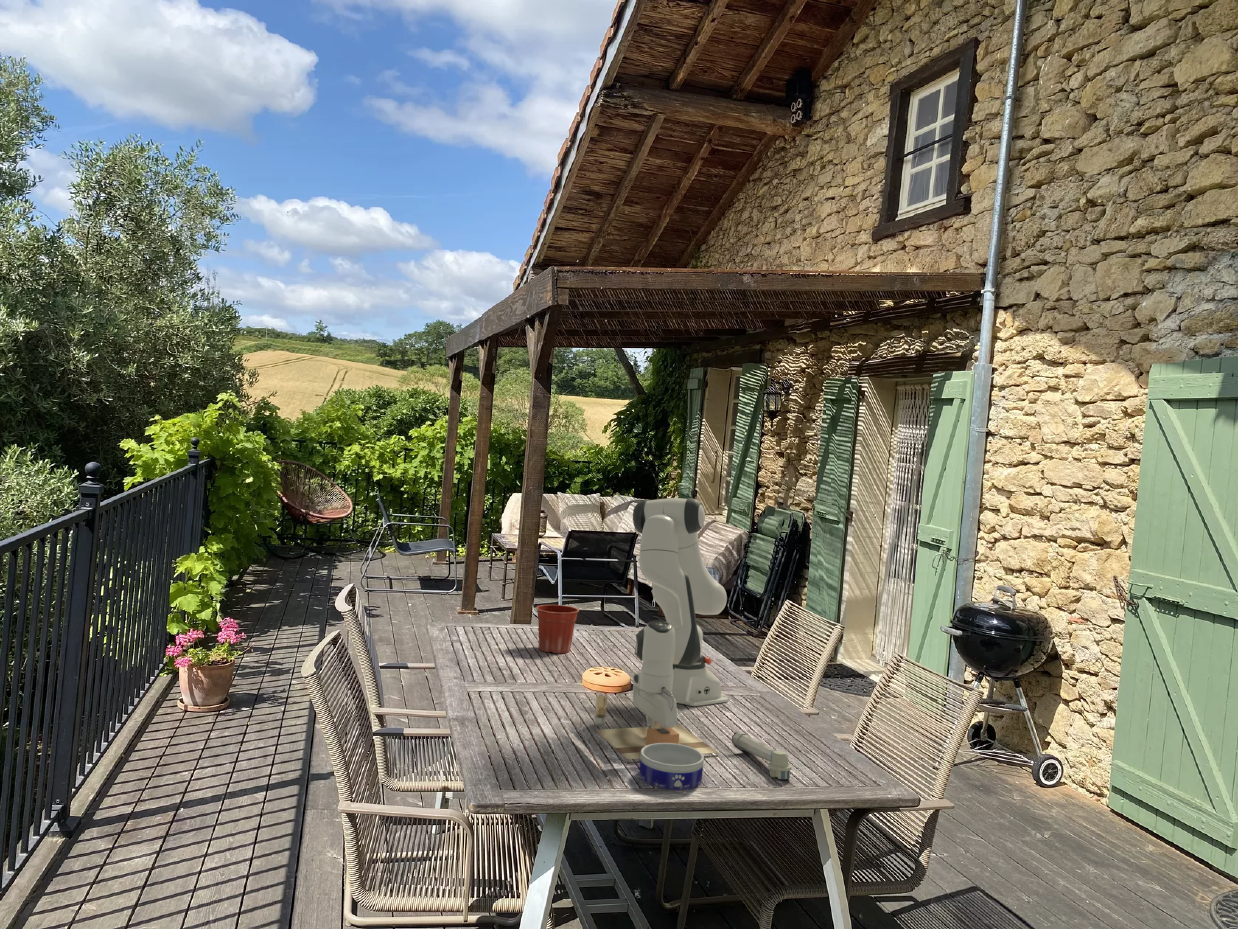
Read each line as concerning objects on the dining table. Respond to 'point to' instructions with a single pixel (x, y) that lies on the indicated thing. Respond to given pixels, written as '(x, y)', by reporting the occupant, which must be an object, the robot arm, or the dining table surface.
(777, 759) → the angle head flashlight
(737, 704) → the dining table surface
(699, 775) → the dog bowl
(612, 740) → the panel
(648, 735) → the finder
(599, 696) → the amber glass vial
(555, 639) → the flower pot
